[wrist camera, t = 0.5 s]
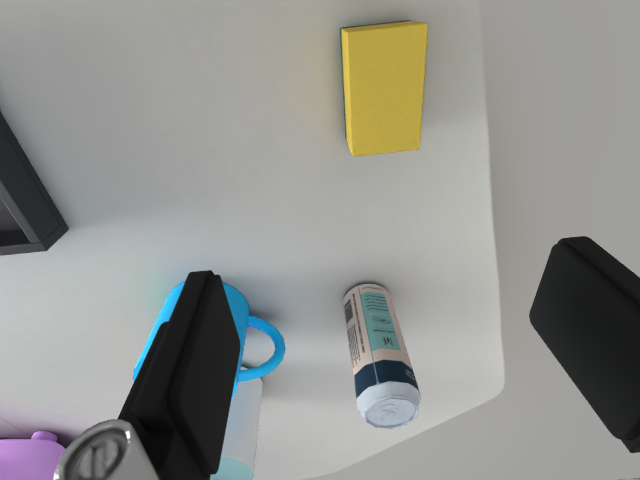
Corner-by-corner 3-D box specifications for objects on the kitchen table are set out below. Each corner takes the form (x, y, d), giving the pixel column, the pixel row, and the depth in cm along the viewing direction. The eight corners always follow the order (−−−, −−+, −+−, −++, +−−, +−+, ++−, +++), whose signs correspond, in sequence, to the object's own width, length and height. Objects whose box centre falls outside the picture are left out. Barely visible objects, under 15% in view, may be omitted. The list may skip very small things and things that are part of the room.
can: (274, 375, 41) (266, 492, 32) (242, 402, 44) (225, 518, 34) (222, 352, 39) (195, 472, 29) (191, 383, 42) (157, 502, 32)
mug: (167, 333, 37) (137, 408, 30) (163, 274, 32) (127, 345, 26) (281, 344, 38) (277, 416, 32) (292, 288, 34) (290, 359, 27)
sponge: (339, 27, 22) (346, 32, 19) (409, 20, 22) (428, 22, 19) (345, 137, 26) (351, 156, 23) (404, 131, 26) (419, 149, 23)
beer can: (351, 320, 37) (370, 437, 27) (334, 290, 34) (348, 406, 24) (395, 306, 36) (431, 421, 26) (381, 273, 33) (414, 387, 24)
